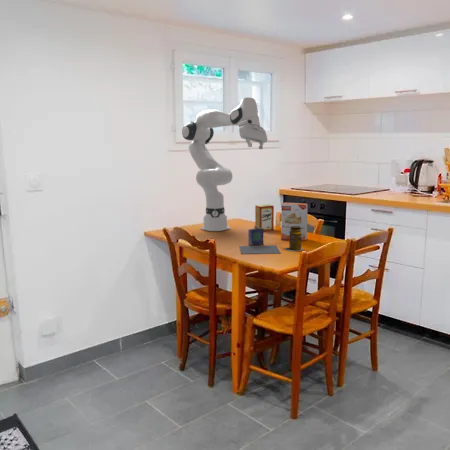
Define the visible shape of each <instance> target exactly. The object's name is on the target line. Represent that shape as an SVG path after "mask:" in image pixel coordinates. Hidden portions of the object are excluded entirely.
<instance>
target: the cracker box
mask: <svg viewBox="0 0 450 450" xmlns="http://www.w3.org/2000/svg"><path fill="white" fill-rule="evenodd" d="M308 205H309V204H308V203H304V202H303V203H302V202H300V203H299V202H283V203H281V216H280V217H281V218H280V219H281V223H280V224H281V225H280V227H281V228H280V230H281V231H280V239H281V240H283V241H284V240H287V241H290V230H291V226H299V227H301V242H305V241H307V239H308V207H309V206H308Z"/></svg>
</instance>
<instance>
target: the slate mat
mask: <svg viewBox="0 0 450 450" xmlns="http://www.w3.org/2000/svg"><path fill="white" fill-rule="evenodd" d="M239 251H240V254H241V255H261V254H262V255H266V254H269V255H271V254H273V255H275V254H278V255H279V254H282V253H281V251H280V249H279V247H278V246H277V244H276V245H275V244H273V245H271V244H270V245H269V244H268V245H253V246H251V245H250V246H249V245H239Z"/></svg>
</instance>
